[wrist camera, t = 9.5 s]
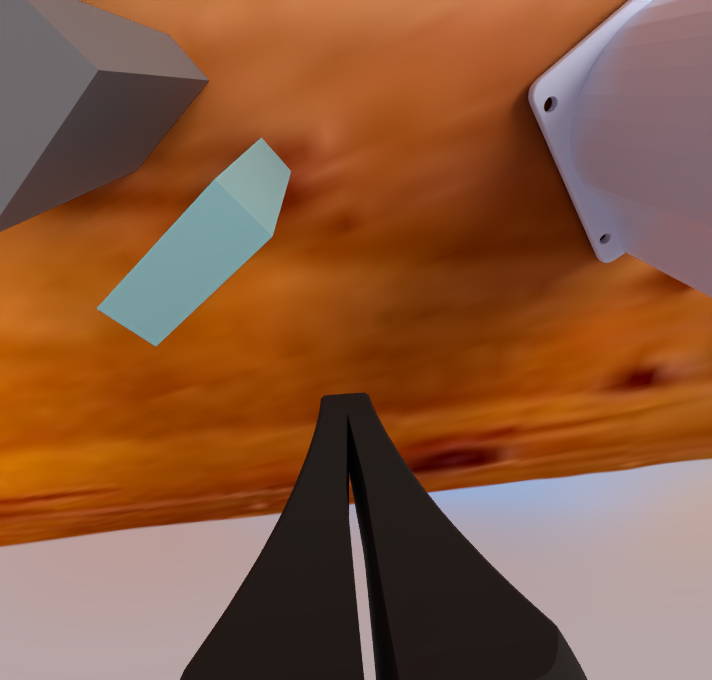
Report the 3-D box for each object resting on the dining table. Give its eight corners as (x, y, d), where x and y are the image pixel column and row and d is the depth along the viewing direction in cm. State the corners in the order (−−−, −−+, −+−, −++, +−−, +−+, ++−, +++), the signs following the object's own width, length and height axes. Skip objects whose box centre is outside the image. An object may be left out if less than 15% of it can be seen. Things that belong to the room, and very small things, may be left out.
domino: (209, 80, 13) (99, 70, 6) (136, 170, 14) (-16, 238, 8) (169, 34, 12) (-6, -32, 5) (96, 134, 13) (-112, 177, 7)
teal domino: (291, 171, 15) (272, 236, 8) (220, 242, 16) (155, 346, 10) (261, 137, 14) (214, 179, 7) (189, 215, 15) (96, 308, 9)
